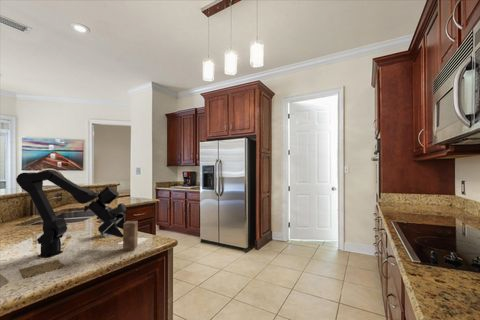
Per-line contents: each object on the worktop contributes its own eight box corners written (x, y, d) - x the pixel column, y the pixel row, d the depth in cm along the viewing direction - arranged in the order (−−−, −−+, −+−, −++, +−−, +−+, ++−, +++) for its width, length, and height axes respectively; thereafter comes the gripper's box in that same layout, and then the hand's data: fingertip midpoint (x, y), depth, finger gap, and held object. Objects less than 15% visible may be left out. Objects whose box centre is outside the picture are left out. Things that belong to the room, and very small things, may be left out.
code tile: (136, 245, 111) (136, 245, 111) (116, 244, 113) (116, 243, 113) (148, 238, 122) (148, 238, 122) (131, 237, 124) (131, 237, 124)
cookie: (57, 260, 95) (57, 257, 95) (65, 268, 87) (65, 265, 87) (18, 270, 86) (18, 267, 86) (23, 280, 78) (23, 277, 78)
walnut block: (122, 251, 103) (123, 223, 104) (126, 248, 108) (126, 221, 108) (134, 251, 104) (134, 223, 104) (137, 247, 109) (137, 220, 109)
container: (105, 238, 123) (106, 214, 124) (99, 235, 128) (100, 212, 129) (120, 234, 130) (120, 212, 130) (114, 232, 134) (114, 210, 135)
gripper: (106, 201, 96) (133, 226, 98) (122, 196, 115) (144, 217, 116) (86, 220, 95) (113, 245, 96) (105, 211, 113) (127, 232, 115)
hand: (126, 233), depth 106 cm, fingers open, 9 cm apart
